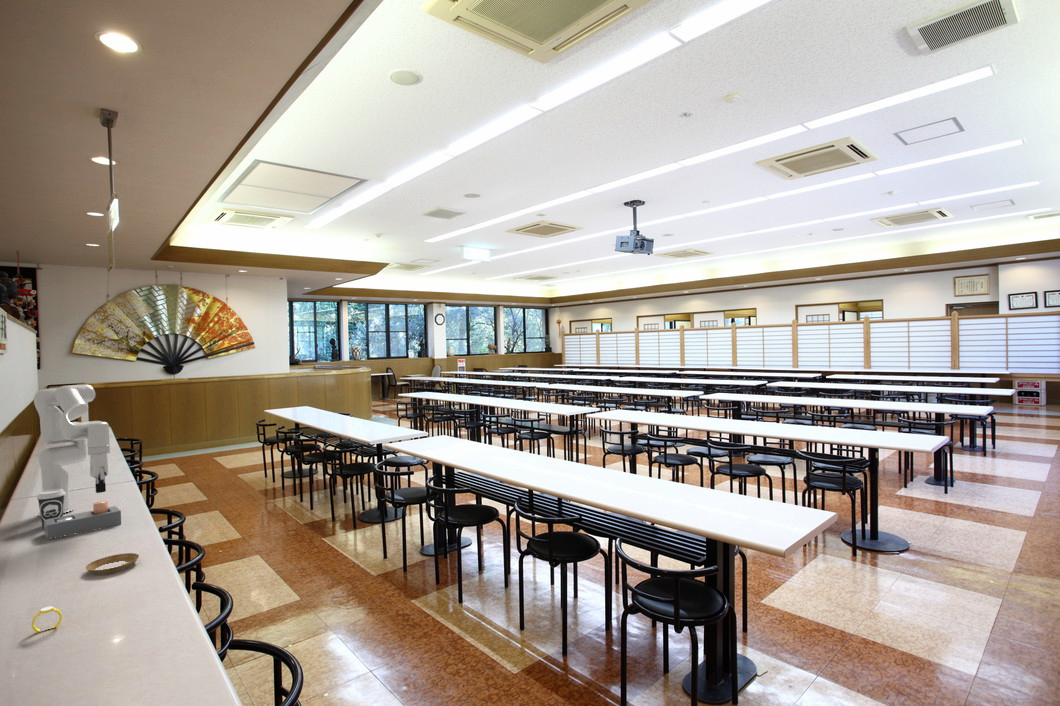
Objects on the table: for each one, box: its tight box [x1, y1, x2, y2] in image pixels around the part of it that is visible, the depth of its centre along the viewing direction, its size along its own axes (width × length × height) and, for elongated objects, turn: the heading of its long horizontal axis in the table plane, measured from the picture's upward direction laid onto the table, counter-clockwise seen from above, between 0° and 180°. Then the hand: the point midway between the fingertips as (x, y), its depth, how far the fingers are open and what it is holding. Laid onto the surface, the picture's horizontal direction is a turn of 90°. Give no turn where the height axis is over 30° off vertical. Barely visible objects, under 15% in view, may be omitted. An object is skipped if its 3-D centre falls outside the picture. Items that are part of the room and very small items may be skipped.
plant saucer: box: [84, 552, 140, 576], centre depth 184 cm, size 15×15×3 cm
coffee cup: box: [36, 489, 66, 528], centre depth 232 cm, size 10×10×15 cm
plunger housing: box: [43, 505, 122, 540], centre depth 226 cm, size 11×24×6 cm, turn 139°
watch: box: [31, 605, 63, 633], centre depth 143 cm, size 6×3×6 cm, turn 130°
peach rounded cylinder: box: [92, 500, 109, 515], centre depth 230 cm, size 5×5×6 cm
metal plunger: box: [57, 517, 73, 522], centre depth 221 cm, size 5×5×6 cm
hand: (100, 492), depth 230 cm, fingers closed
